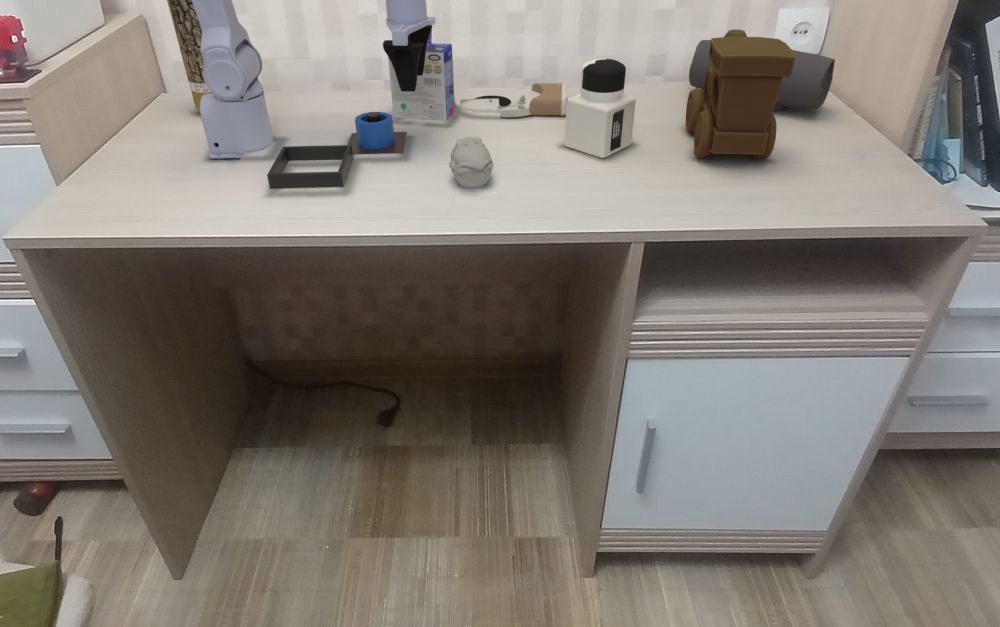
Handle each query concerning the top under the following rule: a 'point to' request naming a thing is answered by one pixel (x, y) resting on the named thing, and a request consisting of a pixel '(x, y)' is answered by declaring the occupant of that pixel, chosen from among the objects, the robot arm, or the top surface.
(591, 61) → the container
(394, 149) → the tape holder
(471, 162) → the frog figurine
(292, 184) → the tray
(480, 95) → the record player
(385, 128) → the tape roll
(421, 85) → the ink cartridge box
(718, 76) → the wooden toy train
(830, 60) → the bluetooth speaker
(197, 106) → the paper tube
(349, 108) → the top surface
